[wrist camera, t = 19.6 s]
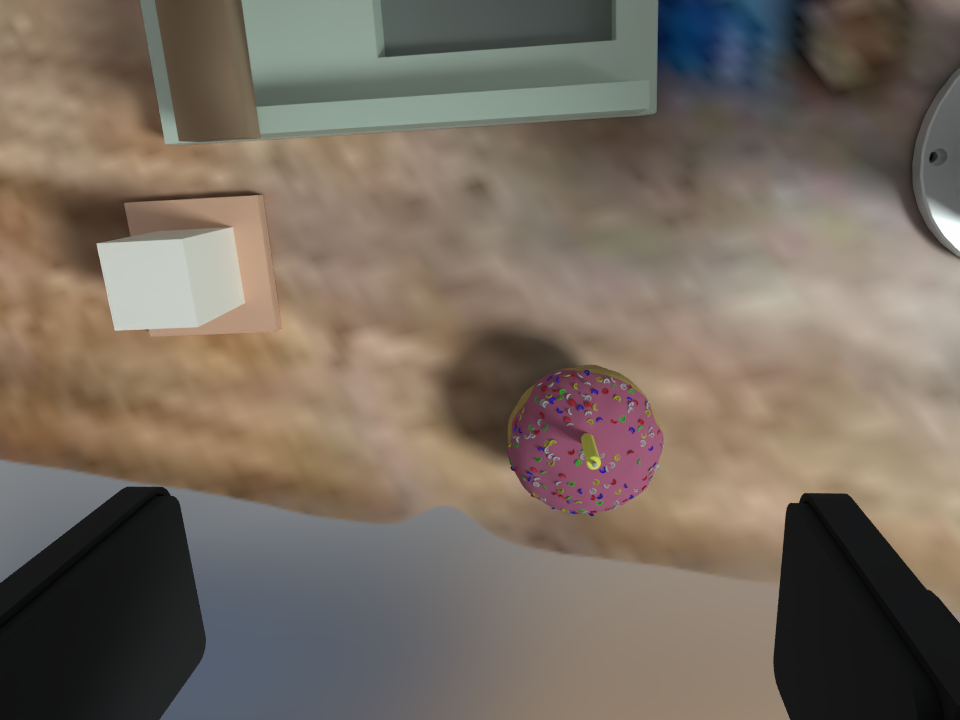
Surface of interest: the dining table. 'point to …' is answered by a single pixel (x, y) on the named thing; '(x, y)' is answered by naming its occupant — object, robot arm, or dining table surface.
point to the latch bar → (208, 69)
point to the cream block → (171, 278)
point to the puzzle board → (435, 63)
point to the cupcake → (584, 440)
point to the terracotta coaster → (250, 247)
